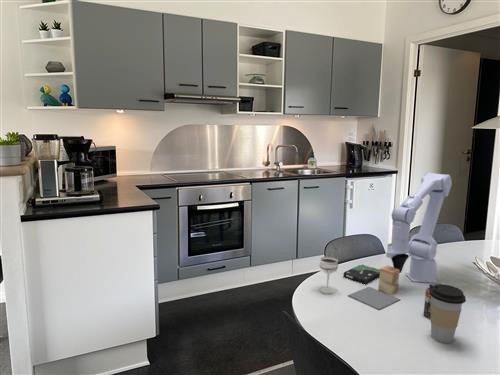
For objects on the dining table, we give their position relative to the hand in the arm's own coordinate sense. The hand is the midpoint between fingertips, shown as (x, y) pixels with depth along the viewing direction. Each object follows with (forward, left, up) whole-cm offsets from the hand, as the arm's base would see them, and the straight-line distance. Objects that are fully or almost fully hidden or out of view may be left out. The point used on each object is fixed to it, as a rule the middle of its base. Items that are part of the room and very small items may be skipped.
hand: (397, 272), depth 144 cm
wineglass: (+27, +5, -7) cm, 28 cm away
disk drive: (+10, -10, -7) cm, 16 cm away
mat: (+11, +10, -6) cm, 16 cm away
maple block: (+4, +4, -6) cm, 9 cm away
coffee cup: (-2, +35, -7) cm, 35 cm away
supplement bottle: (-5, +22, -7) cm, 23 cm away
